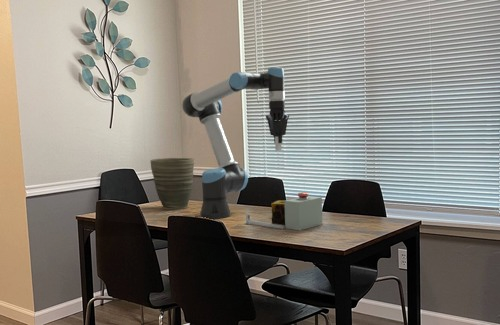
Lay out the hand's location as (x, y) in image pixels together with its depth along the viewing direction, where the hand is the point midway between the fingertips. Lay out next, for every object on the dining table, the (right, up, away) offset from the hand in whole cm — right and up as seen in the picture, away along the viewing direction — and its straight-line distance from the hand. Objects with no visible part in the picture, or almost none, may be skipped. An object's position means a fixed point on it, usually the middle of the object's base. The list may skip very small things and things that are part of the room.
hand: (278, 150), depth 269 cm
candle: (+2, -34, -14) cm, 37 cm away
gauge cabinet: (+10, -34, -21) cm, 41 cm away
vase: (-56, -31, +45) cm, 78 cm away
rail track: (-1, -33, -11) cm, 35 cm away
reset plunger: (+10, -27, -22) cm, 36 cm away
